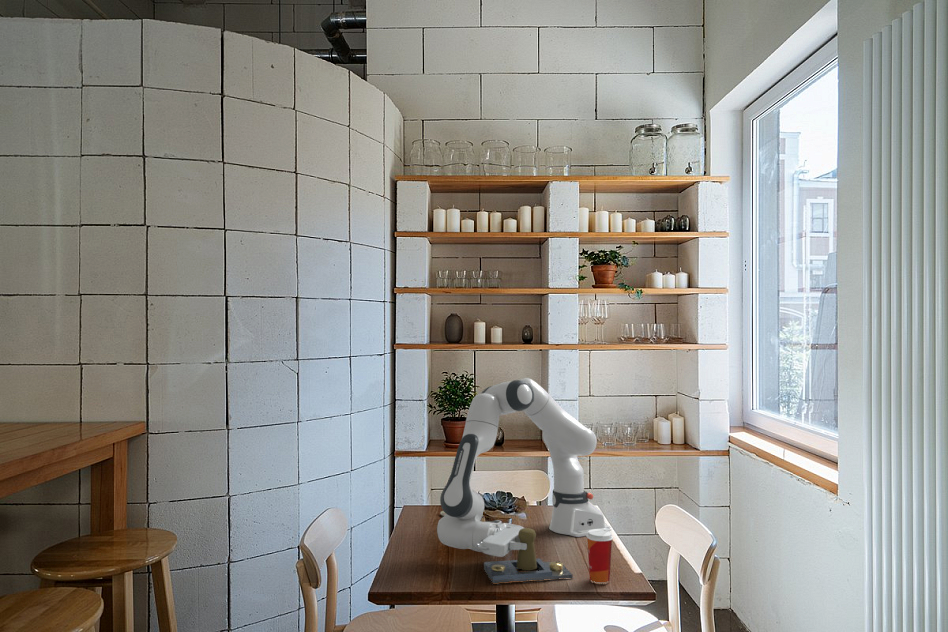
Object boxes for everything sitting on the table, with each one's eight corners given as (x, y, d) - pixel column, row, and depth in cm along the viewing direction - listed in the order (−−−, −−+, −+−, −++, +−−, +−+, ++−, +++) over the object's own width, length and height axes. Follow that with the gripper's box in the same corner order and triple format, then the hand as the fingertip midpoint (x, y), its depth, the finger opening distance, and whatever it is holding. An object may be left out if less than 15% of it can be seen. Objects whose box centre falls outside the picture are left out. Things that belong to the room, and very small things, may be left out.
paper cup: (596, 574, 186) (596, 526, 187) (618, 581, 180) (618, 532, 181) (580, 581, 180) (580, 532, 181) (603, 588, 175) (603, 538, 176)
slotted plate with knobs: (559, 564, 193) (559, 555, 194) (572, 578, 182) (572, 569, 182) (484, 570, 188) (484, 560, 189) (493, 584, 177) (493, 574, 177)
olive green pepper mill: (536, 570, 182) (537, 532, 182) (516, 569, 183) (516, 531, 183) (537, 563, 188) (537, 526, 188) (517, 562, 189) (517, 525, 189)
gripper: (473, 536, 181) (518, 543, 176) (498, 518, 200) (539, 524, 195) (473, 558, 181) (518, 565, 176) (498, 538, 200) (539, 544, 194)
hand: (529, 543), depth 185 cm, fingers closed on olive green pepper mill, 4 cm apart
